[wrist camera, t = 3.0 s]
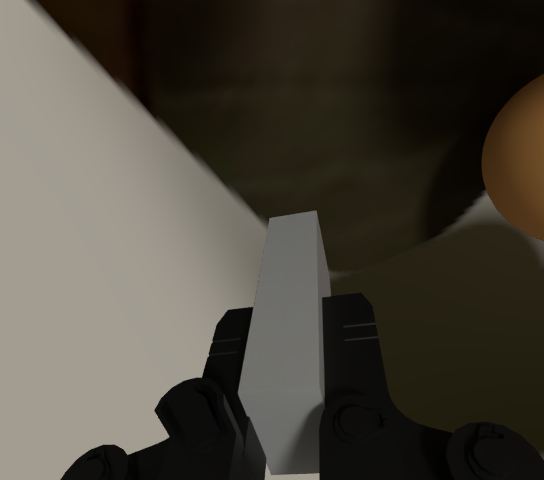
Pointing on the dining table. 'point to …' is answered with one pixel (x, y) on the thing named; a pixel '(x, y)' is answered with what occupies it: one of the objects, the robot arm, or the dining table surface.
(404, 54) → the dining table surface
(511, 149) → the ball
